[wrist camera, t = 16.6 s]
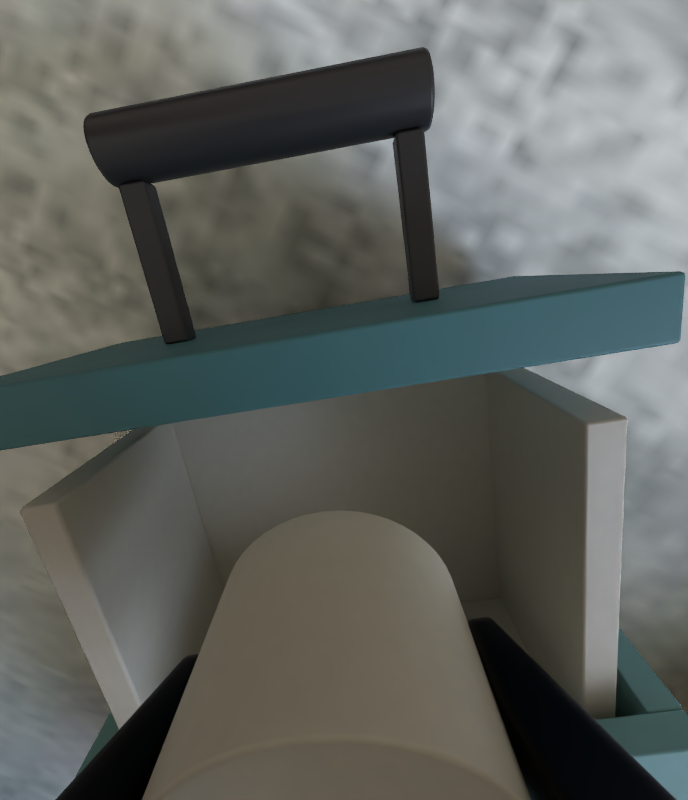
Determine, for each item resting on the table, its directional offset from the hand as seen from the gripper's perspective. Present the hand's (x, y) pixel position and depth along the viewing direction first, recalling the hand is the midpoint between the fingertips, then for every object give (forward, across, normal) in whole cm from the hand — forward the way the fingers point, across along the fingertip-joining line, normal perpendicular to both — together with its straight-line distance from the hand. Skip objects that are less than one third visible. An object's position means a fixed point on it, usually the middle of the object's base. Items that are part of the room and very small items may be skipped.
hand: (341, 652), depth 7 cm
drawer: (+8, 0, -2) cm, 8 cm away
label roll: (+1, 0, 0) cm, 1 cm away
